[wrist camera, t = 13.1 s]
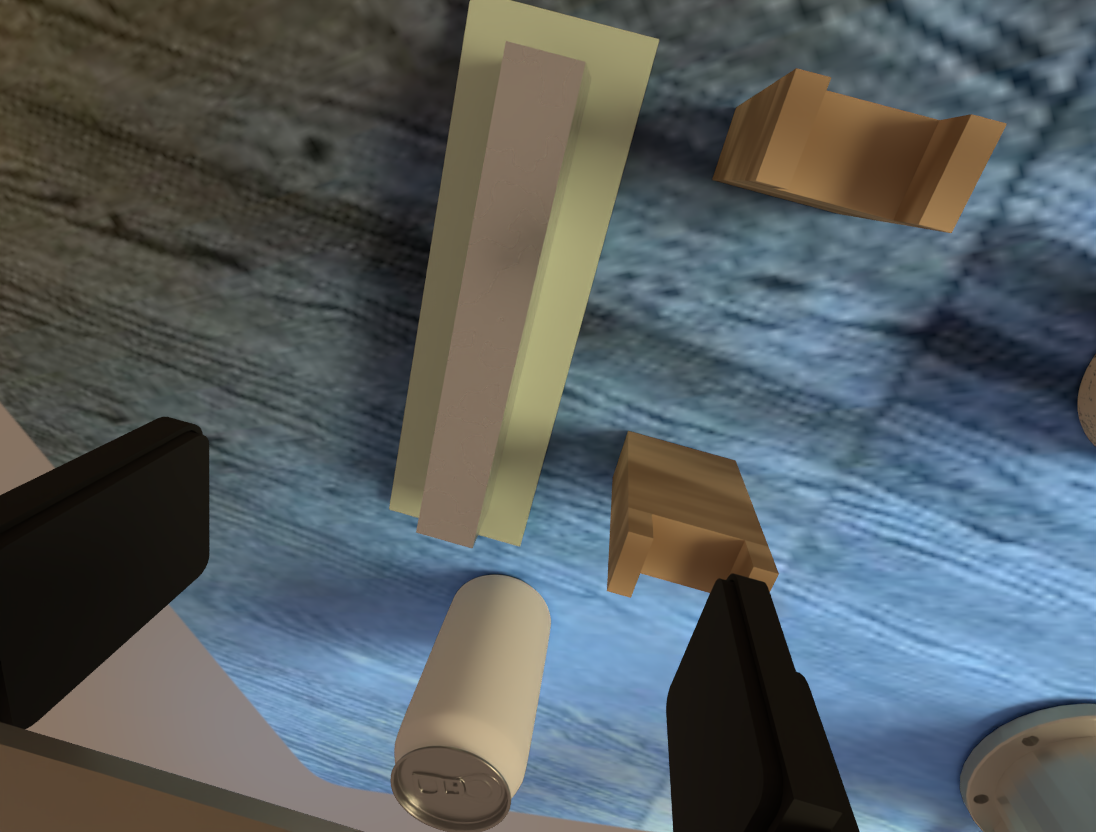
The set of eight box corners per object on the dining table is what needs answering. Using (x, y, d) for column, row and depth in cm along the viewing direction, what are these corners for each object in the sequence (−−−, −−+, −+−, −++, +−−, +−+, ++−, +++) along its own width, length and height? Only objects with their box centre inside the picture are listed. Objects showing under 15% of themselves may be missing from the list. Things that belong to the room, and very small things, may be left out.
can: (555, 652, 38) (526, 845, 27) (459, 649, 39) (394, 834, 28) (548, 570, 36) (512, 745, 25) (446, 569, 37) (369, 737, 26)
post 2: (840, 214, 26) (951, 233, 17) (711, 179, 26) (755, 180, 17) (871, 143, 25) (1006, 123, 16) (736, 107, 25) (796, 68, 16)
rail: (489, 507, 33) (472, 548, 30) (439, 493, 33) (416, 532, 30) (591, 79, 25) (585, 62, 21) (523, 61, 25) (505, 40, 21)
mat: (522, 536, 35) (519, 546, 34) (395, 500, 35) (389, 509, 34) (658, 44, 25) (659, 39, 24) (477, -3, 25) (471, -10, 24)
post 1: (716, 506, 33) (749, 631, 24) (612, 477, 33) (607, 591, 24) (735, 460, 31) (778, 573, 22) (628, 430, 32) (628, 531, 23)
